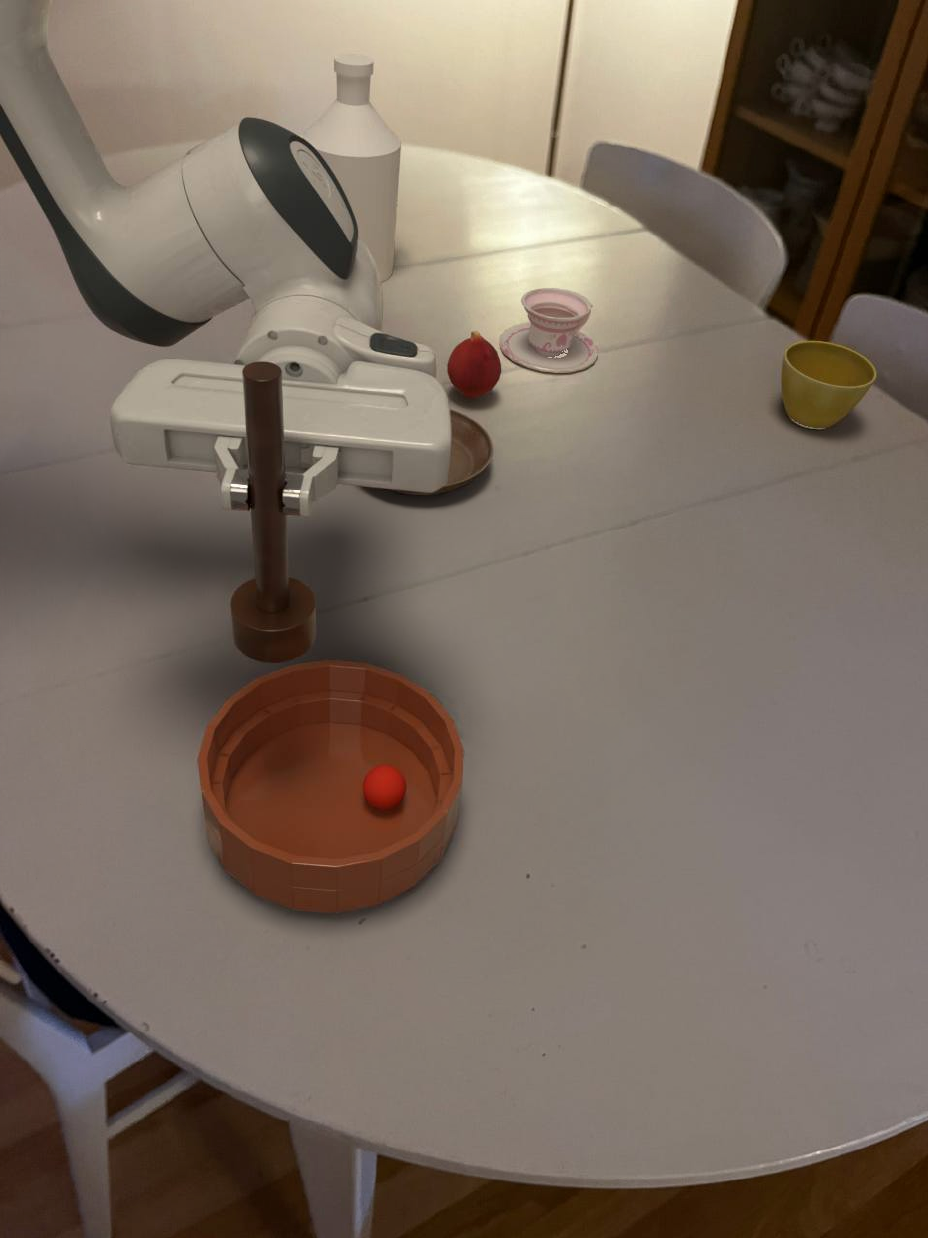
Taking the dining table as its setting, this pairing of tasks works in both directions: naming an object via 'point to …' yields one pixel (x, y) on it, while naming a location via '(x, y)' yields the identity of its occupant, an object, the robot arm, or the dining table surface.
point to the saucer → (464, 453)
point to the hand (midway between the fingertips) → (265, 503)
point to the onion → (474, 366)
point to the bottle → (362, 157)
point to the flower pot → (823, 382)
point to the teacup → (551, 332)
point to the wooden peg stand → (269, 535)
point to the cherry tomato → (384, 787)
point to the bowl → (329, 785)
